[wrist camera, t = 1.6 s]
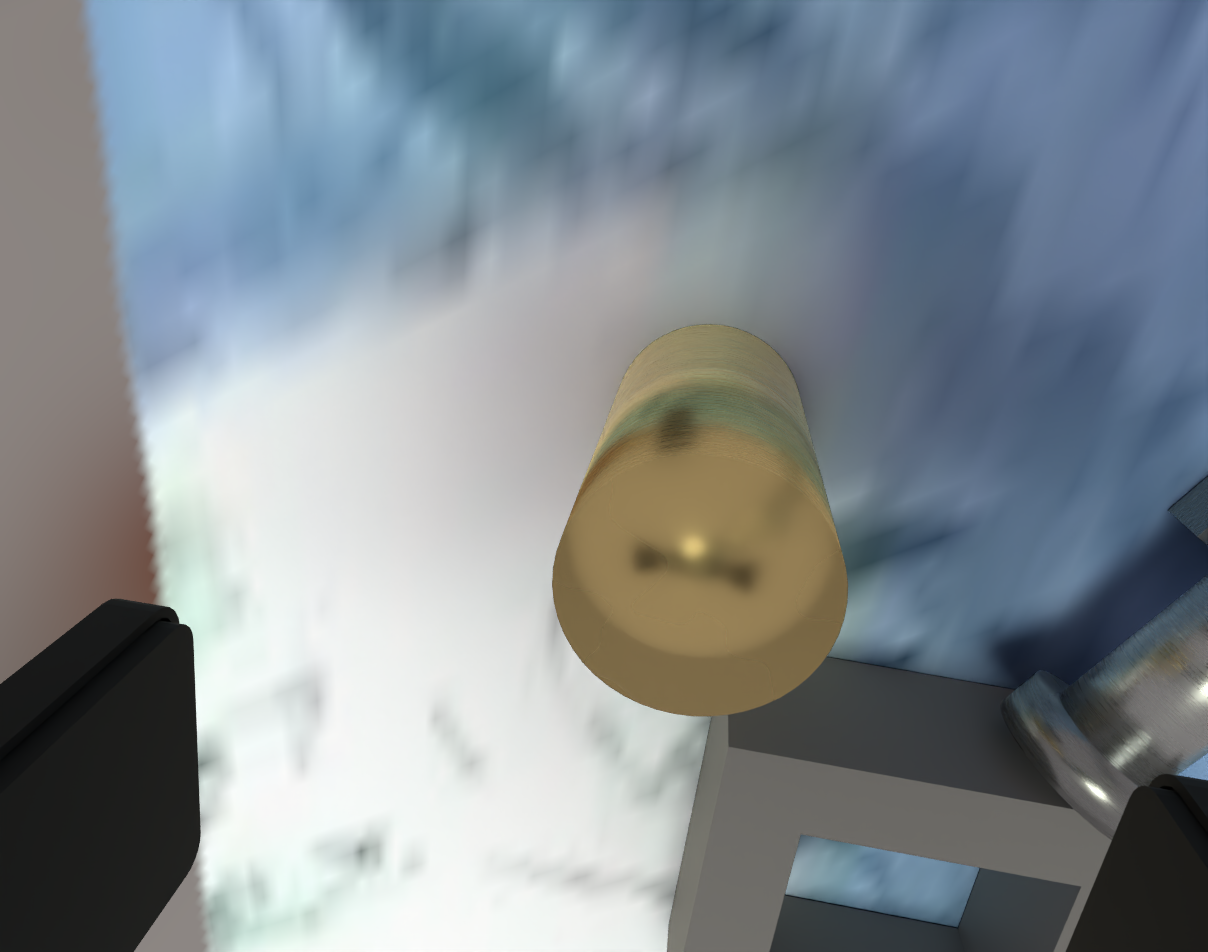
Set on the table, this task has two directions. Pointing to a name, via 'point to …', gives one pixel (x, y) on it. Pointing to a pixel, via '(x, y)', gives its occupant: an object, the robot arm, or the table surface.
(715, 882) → the grey square frame
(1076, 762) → the shaft
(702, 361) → the yellow cylinder
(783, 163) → the table surface
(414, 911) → the table surface
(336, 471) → the table surface
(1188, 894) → the robot arm
